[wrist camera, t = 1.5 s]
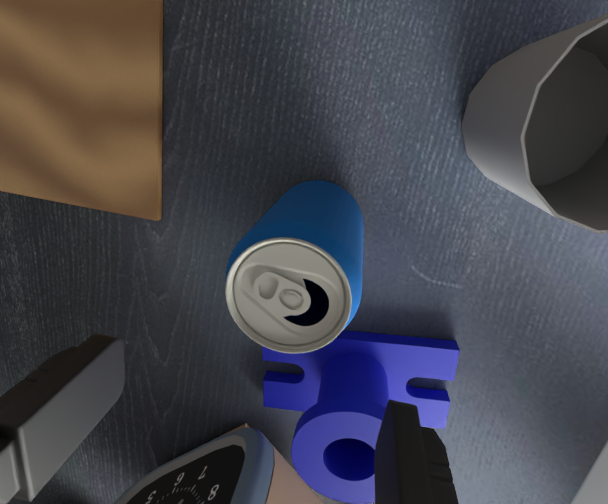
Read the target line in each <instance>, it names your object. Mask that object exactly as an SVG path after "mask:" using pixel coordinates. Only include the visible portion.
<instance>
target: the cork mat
mask: <svg viewBox="0 0 608 504" xmlns="http://www.w3.org/2000/svg"><path fill="white" fill-rule="evenodd" d="M162 81H163V0H0V191H3V192H8V193H14V194H19V195H24V196H29V197H35V198H40V199H45V200H50V201H55V202H61V203H66V204H71V205H76V206H82V207H87V208H92V209H97V210H103V211H108V212H113V213H118V214H123V215H129V216H134V217H139V218H144V219H150V220H155V221H159V220H161V214H162Z"/></svg>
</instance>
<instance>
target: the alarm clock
mask: <svg viewBox="0 0 608 504" xmlns="http://www.w3.org/2000/svg"><path fill="white" fill-rule="evenodd" d="M114 504H324V503H323V502H322V500H321V499H320V498H319V497H318V496H317V495H316V494H315V492H314V491H313V490H312V489H311V488H310V487H309V486H308V485H307V484H306V483H305V482H304V481H303V480H302V478H301V477H300V476H299V474H298V473H297V472H296V471H295V470H294V469H293V467H292V466H291V465H290V464H289V463H288V462H287V461H286V460H285V458H284V457H283V456H282V455H281V454H280V453H279V452H278V450H277V449H276V448H275V447H274V446H273V445H272V444H271V443H270V441H268V439H267V438H266V437H265V436H264V435H263V433H262V432H261V431H259V430H257V429H253V428H250V427H249V426H248V425H247V423H246V424H244V425H242V426H240V427H238V428H236V429H234V430H232V431H230V432H228V433H226V434H224V435H222V436H220V437H218V438H216V439H214V440H212V441H209V442H207V443H205V444H203V445H201V446H199V447H197V448H195V449H193V450H191V451H189V452H187V453H185V454H183V455H181V456H179V457H177V458H175V459H173V460H171V461H169V462H167V463H165V464H163V465H161V466H159V467H158V468H156V469H155V470H153V471H151V472H150V473H148V474H147V475H145V476H144V477H142V478H140V479H139V480H137V481H136V482H135V483H134V484H133V485H132V486H131V487H130V488H128V489H127V490H126V491H125V492H124V493H123V494H122V495H121V496H120V497H119V498H118V499H117V500H116V501H115V503H114Z"/></svg>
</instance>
